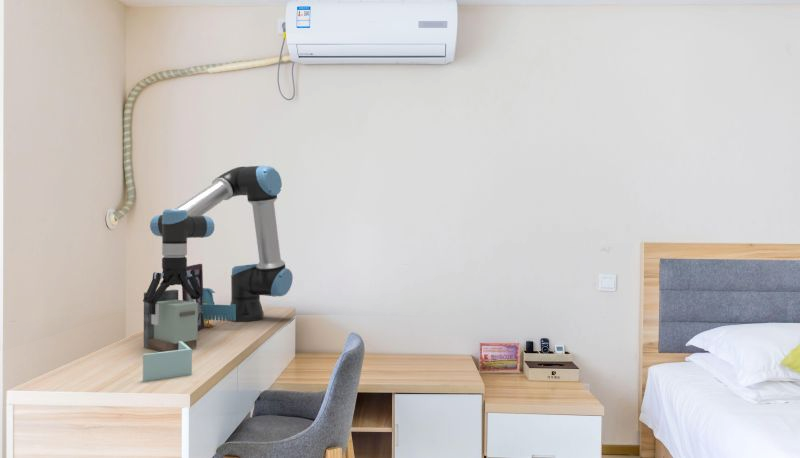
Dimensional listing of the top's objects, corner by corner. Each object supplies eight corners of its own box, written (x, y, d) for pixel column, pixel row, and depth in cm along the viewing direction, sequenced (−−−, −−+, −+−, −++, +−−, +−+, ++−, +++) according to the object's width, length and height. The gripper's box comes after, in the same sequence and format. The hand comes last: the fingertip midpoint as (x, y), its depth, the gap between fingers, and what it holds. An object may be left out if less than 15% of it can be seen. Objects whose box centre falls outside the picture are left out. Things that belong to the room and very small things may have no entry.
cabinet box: (175, 334, 188) (175, 299, 187) (198, 339, 180) (199, 302, 180) (153, 338, 181) (153, 302, 181) (176, 344, 174) (177, 305, 174)
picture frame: (186, 337, 198) (187, 267, 197) (159, 336, 198) (160, 267, 198) (204, 328, 214) (204, 263, 214) (179, 327, 215) (179, 263, 214)
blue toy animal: (243, 325, 220) (243, 287, 219) (235, 330, 211) (235, 290, 211) (175, 324, 222) (175, 286, 221) (164, 328, 213) (164, 289, 213)
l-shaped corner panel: (181, 366, 160) (181, 341, 160) (191, 376, 150) (191, 349, 150) (136, 372, 153) (136, 345, 153) (143, 383, 143) (143, 355, 143)
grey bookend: (173, 341, 190) (174, 289, 190) (196, 346, 183) (196, 292, 183) (143, 347, 181) (143, 292, 181) (166, 353, 174) (166, 296, 174)
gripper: (200, 254, 193) (199, 314, 193) (131, 257, 172) (131, 325, 173) (213, 255, 189) (213, 317, 189) (145, 259, 168) (144, 328, 169)
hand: (174, 321), depth 181 cm, fingers open, 13 cm apart
